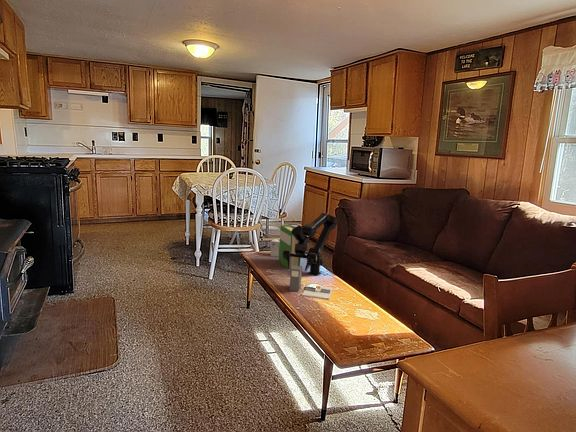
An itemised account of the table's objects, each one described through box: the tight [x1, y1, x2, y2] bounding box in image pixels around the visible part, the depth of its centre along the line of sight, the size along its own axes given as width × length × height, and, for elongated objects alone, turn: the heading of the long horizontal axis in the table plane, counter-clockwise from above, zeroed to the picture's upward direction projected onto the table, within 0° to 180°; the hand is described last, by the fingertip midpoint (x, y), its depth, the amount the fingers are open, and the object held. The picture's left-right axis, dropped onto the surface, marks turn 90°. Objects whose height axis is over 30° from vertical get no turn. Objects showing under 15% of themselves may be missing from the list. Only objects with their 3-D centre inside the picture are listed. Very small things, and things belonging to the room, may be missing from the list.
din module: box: [289, 265, 303, 292], centre depth 208 cm, size 6×5×12 cm
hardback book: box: [278, 224, 302, 270], centre depth 248 cm, size 18×7×24 cm, turn 23°
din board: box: [301, 284, 334, 300], centre depth 207 cm, size 16×14×1 cm
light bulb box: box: [270, 238, 280, 258], centre depth 269 cm, size 11×7×11 cm, turn 84°
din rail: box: [305, 286, 331, 293], centre depth 206 cm, size 2×13×1 cm, turn 77°
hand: (296, 269), depth 210 cm, fingers open, 9 cm apart
